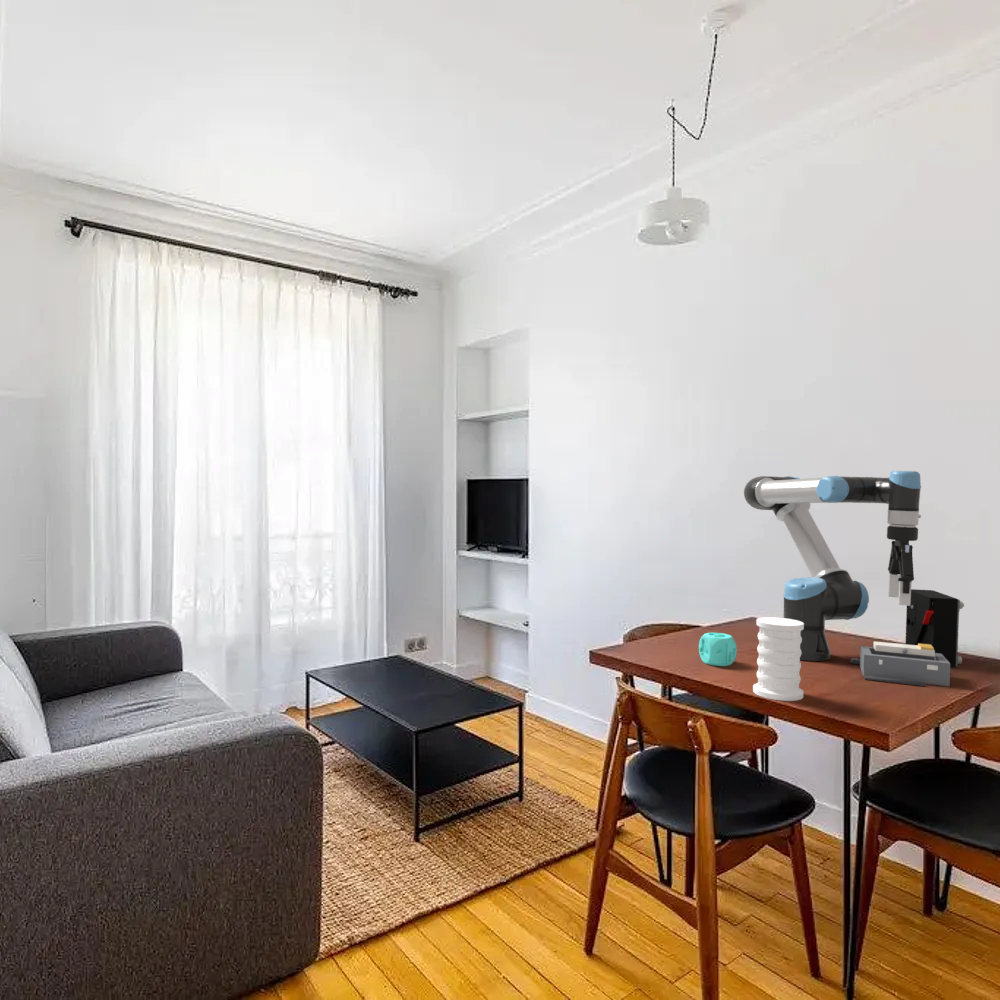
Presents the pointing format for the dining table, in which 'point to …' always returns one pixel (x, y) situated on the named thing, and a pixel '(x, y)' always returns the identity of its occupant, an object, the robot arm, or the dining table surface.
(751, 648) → the dining table surface
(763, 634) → the decorative container
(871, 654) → the breaker housing
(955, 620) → the electrical component
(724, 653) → the decorative dice
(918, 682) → the dark grey thin bar
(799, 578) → the robot arm
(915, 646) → the rocker
